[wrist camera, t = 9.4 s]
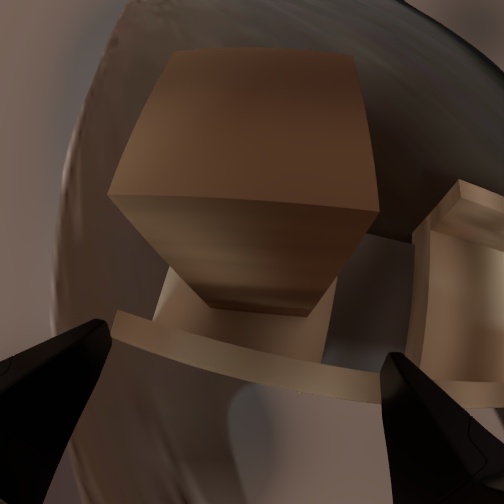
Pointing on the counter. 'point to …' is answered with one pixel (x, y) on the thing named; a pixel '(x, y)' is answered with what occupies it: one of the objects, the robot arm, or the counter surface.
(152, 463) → the counter surface
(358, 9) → the counter surface
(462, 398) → the tunnel deck
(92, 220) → the counter surface
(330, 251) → the walnut block
